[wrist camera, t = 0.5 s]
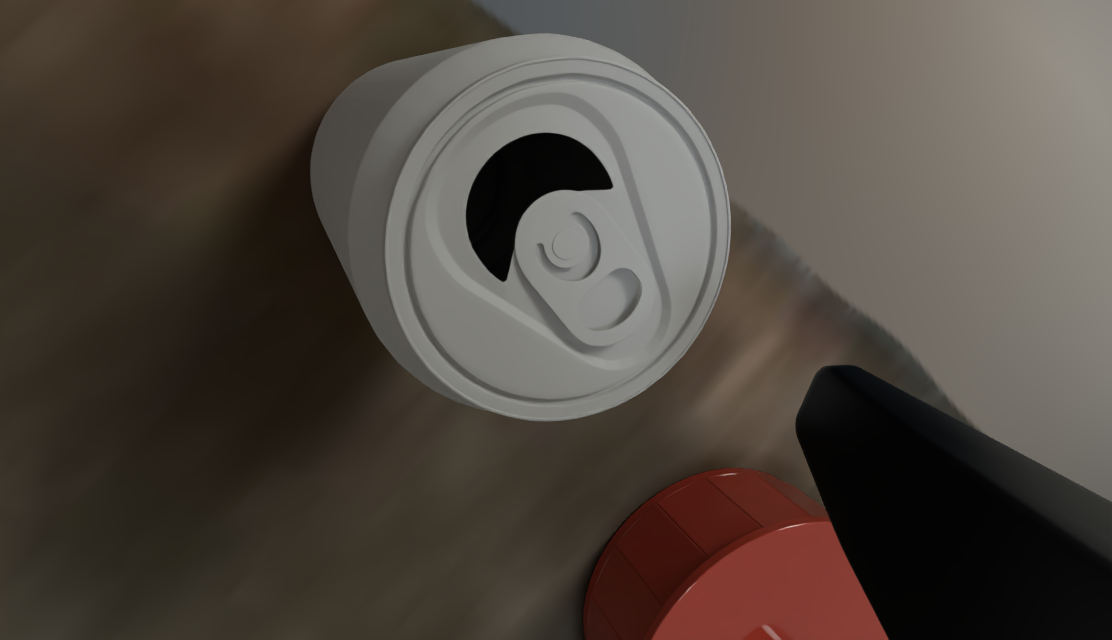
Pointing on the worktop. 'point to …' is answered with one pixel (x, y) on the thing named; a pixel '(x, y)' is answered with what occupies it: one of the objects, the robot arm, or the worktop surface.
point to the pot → (680, 543)
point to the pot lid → (772, 591)
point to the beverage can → (525, 221)
